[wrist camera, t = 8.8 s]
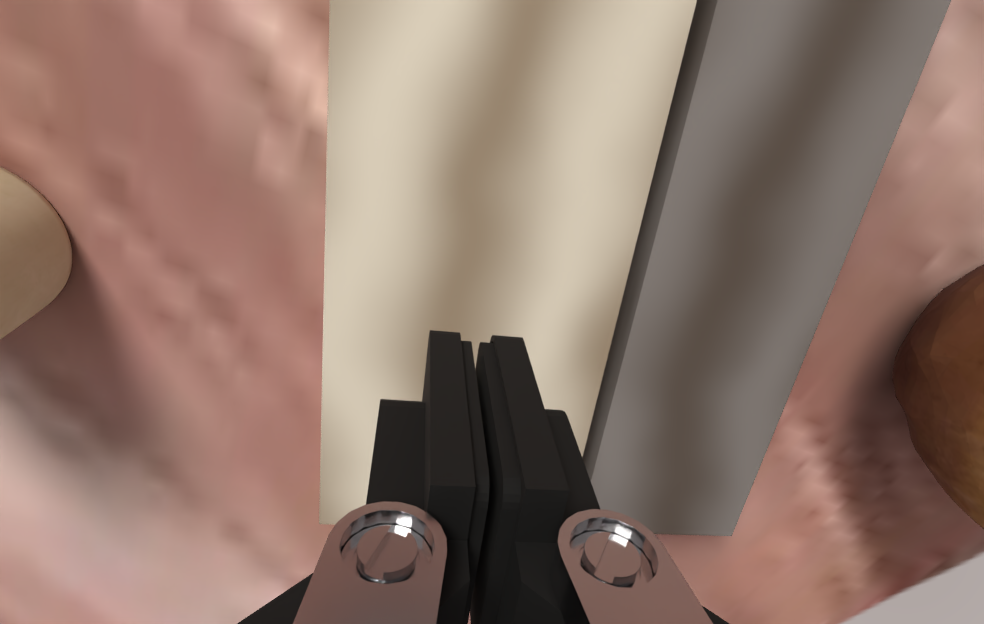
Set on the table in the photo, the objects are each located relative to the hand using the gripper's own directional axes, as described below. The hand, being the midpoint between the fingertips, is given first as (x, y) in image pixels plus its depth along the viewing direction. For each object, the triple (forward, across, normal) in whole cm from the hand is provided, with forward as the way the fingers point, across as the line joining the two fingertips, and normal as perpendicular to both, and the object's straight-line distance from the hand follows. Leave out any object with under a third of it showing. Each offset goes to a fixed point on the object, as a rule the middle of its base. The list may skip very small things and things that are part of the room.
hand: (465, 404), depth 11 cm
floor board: (+11, -10, 0) cm, 15 cm away
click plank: (+11, -1, 0) cm, 11 cm away
